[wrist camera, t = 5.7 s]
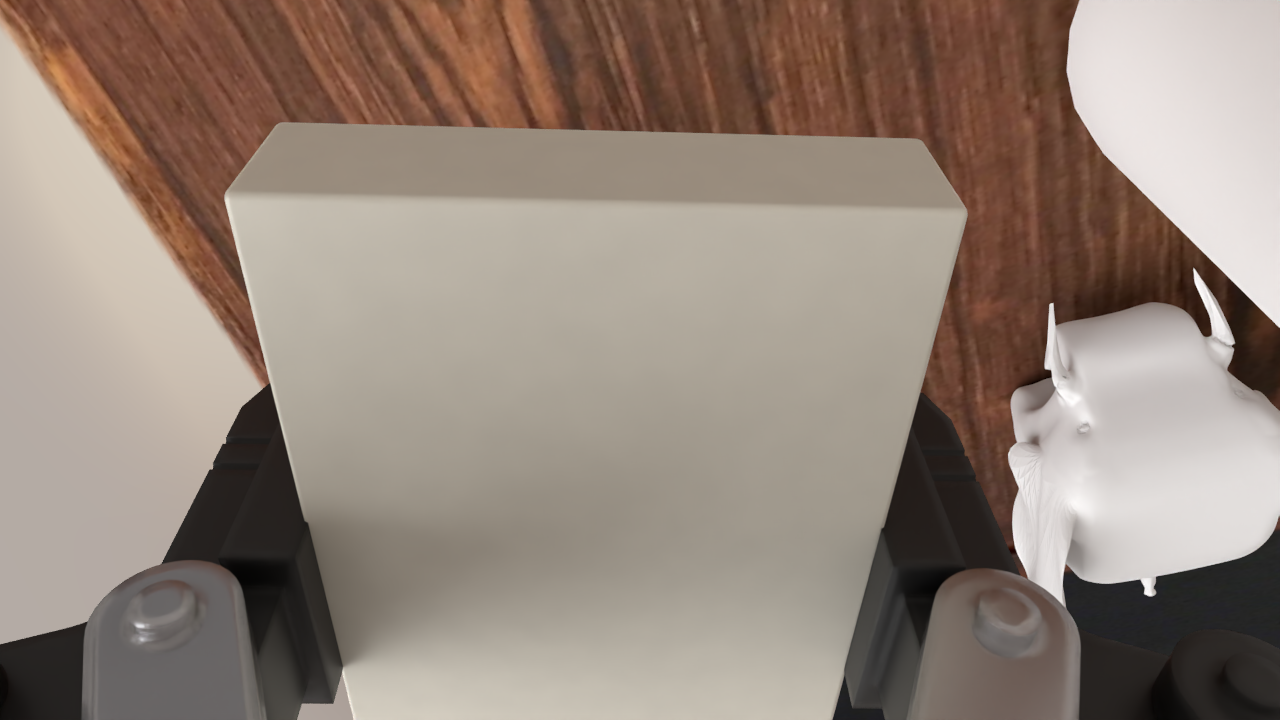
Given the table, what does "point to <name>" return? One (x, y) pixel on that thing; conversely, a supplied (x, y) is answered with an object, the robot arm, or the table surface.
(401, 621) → the off-white rectangular slab
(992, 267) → the table surface
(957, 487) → the robot arm
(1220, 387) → the elephant figurine
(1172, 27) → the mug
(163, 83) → the table surface
